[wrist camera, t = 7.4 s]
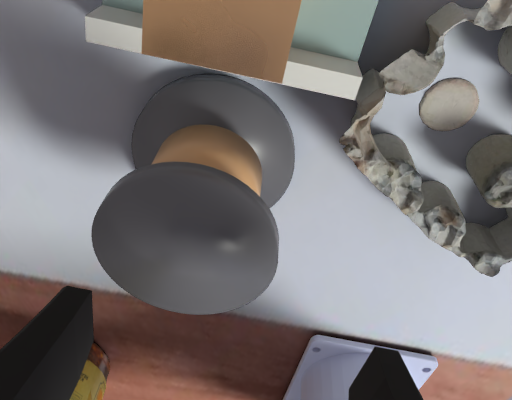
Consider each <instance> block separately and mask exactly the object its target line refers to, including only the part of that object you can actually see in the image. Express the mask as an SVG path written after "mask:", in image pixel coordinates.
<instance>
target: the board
mask: <svg viewBox="0 0 512 400" xmlns="http://www.w3.org/2000/svg"><path fill="white" fill-rule="evenodd" d="M378 1H379V0H302V1H301V5H300V10H299V14H298V18H297V22H296V26H295V31H294V35H293V39H292V43H291V47H290V52H289V56H288V60H287V64H286V68H285V73H284V77H283V81H282V85H287V86H291V87H296V88H301V89H305V90H310V91H314V92H319V93H323V94H328V95H333V96H337V97H342V98H346V99H351V100H355V98H356V95H357V92H358V90H359V87H360V84H361V81H362V78H363V77H362V74H361V71H360V68H359V65H358V59H359V56H360V53H361V50H362V47H363V45H364V42H365V39H366V36H367V33H368V30H369V27H370V24H371V21H372V18H373V15H374V12H375V10H376V7H377V4H378ZM142 21H143V0H102V5H101V6H99V7H98V8H96V9H95V10H93V11H92V12H90V13H89V14H87V15H86V16H85V33H86V42H90V43H95V44H99V45H104V46H109V47H113V48H118V49H122V50H127V51H131V52H136V53H141V54H142ZM145 55H146V54H145ZM154 57H155V56H154ZM159 58H160V57H159ZM163 59H164V58H163ZM168 60H169V59H168ZM173 61H174V60H173ZM177 62H178V61H177ZM182 63H183V62H182ZM186 64H187V63H186ZM191 65H192V64H191ZM195 66H197V65H195ZM200 67H201V66H200ZM205 68H206V67H205ZM209 69H211V68H209ZM214 70H215V69H214ZM218 71H220V70H218ZM223 72H225V71H223ZM227 73H229V72H227ZM232 74H234V73H232ZM237 75H239V74H237ZM241 76H243V75H241ZM246 77H248V76H246ZM250 78H253V77H250ZM255 79H257V78H255ZM259 80H262V79H259ZM264 81H267V80H264ZM269 82H271V81H269ZM273 83H276V82H273ZM278 84H281V83H278Z"/></svg>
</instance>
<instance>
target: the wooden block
mask: <svg viewBox="0 0 512 400" xmlns="http://www.w3.org/2000/svg"><path fill="white" fill-rule="evenodd" d="M301 1H302V0H143V21H142V54H146V55H150V56H155V57H160V58H164V59H169V60H174V61H178V62H183V63H187V64H192V65H197V66H201V67H206V68H211V69H215V70H220V71H225V72H229V73H234V74H239V75H243V76H248V77H253V78H257V79H262V80H267V81H271V82H276V83H281V84H282V81H283V77H284V73H285V68H286V64H287V60H288V56H289V52H290V47H291V43H292V39H293V35H294V31H295V26H296V22H297V18H298V14H299V10H300V5H301Z"/></svg>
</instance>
